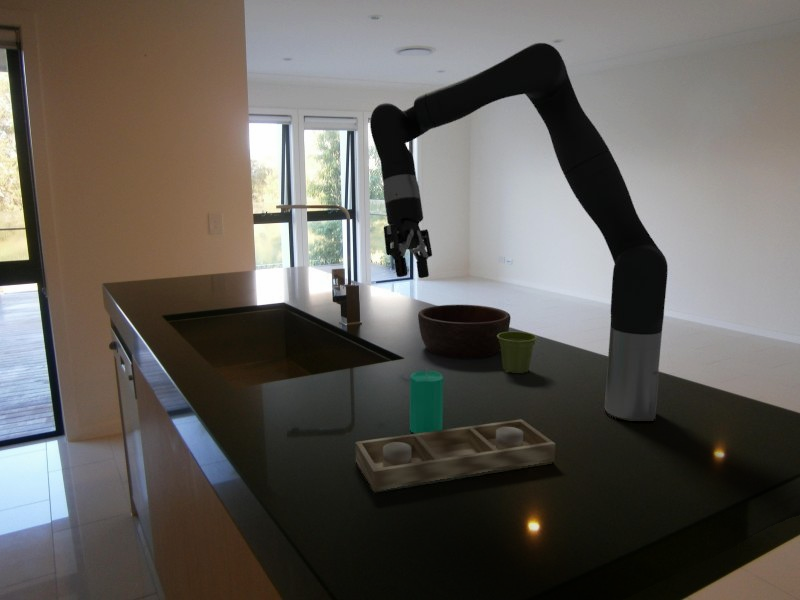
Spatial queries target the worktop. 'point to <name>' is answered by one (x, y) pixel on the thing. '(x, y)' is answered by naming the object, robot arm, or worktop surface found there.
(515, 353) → the plant pot
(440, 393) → the candle
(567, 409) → the worktop surface
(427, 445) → the tray
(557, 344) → the worktop surface
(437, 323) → the wooden bowl
